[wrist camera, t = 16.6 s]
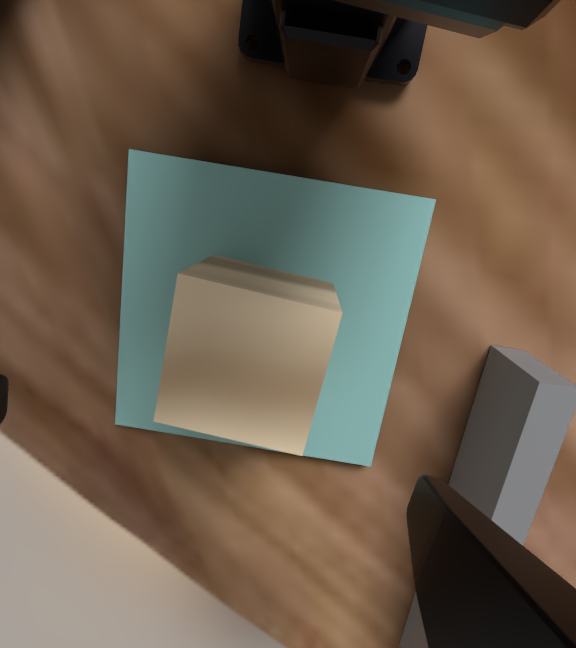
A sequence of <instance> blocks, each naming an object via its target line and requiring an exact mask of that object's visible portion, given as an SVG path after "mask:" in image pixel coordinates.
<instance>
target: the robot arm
mask: <svg viewBox="0 0 576 648" xmlns="http://www.w3.org/2000/svg"><path fill="white" fill-rule="evenodd" d="M559 1H560V0H243V3H242V12H241V21H240V31H239V47H240V50H241V52H242V54H243V56H244V57H245V58H246V59H247V60H250V61H253V62H259V63H265V64H271V65H277V66H283V67H285V68H286V71H287V72H288V74H289V75H290V77H291V78H296V79H302V80H308V81H314V82H321V83H327V84H333V85H339V86H345V87H351V88H357V87H358V86H359V85H361V84H362V83H363V82H364V80H368V81H374V82H381V83H387V84H393V85H405V84H407V83H409V82H410V81H411V80H412V79H413V77H414V76H415V75H416V72H417V70H418V66H419V61H420V57H421V52H422V47H423V43H424V38H425V33H426V29H427V25H430V26H434V27H438V28H442V29H446V30H449V31H453V32H457V33H461V34H465V35H469V36H473V37H477V38H481V37H484V36H486V35H488V34H491V33H493V32H496V31H498V30H499V29H500V28H501V27H502V26H503V25H504V26H508V27H512V28H516V29H520V30H523V29H525V28H527V27H529V26H530V25H532V24H533V23H535V22H536V21H538V20H539V19H541V18H543V17H544V16H545V15H546V14H547V13H548V12H549V11H550V10H551V9H552V8H553V7H554V6H555V5H556V4H557V3H558V2H559ZM252 38H255V39H257V40H258V41H259V46H258V48H256V49H255V50H250V49H248V48H247V43H248V41H249V40H250V39H252ZM399 63H405V64H407V66H408V67H409V72H408V73H407V74H406V75H401V74H399V73H398V71H397V65H398V64H399ZM8 386H9V382H8V378H7V377H6V376H5V375H2V374H0V424H1V423H2V421H3V420H4V418H5V416H6V412H7V402H8ZM407 525H408V534H409V543H410V551H411V560H412V569H413V577H414V584H415V590H416V595H417V600H418V604H419V609H420V613H421V618H422V622H423V627H424V631H425V636H426V640H427V645H428V648H576V589H575V588H574V587H573V586H572V585H570V584H569V583H568V582H567V581H566V580H564V579H563V578H562V577H561V576H559V575H558V574H557V573H556V572H555V571H553V570H552V569H551V568H550V567H548V566H547V565H546V564H545V563H543V562H542V561H541V560H540V559H539V558H537V557H536V556H535V555H534V554H532V553H531V552H530V551H529V550H528V549H526V548H525V547H524V546H523V545H521V544H520V543H519V542H518V541H516V540H515V539H514V538H513V537H512V536H510V535H509V534H508V533H507V532H505V531H504V530H503V529H502V528H500V527H499V526H498V525H497V524H496V523H494V522H493V521H492V520H491V519H489V518H488V517H487V516H486V515H485V514H483V513H482V512H481V511H480V510H478V509H477V508H476V507H475V506H473V505H472V504H471V503H470V502H469V501H467V500H466V499H465V498H464V497H462V496H461V495H460V494H459V493H458V492H456V491H455V490H454V489H453V488H451V487H450V486H449V485H448V484H446V483H445V482H444V481H443V480H441V479H440V478H436V477H432V476H428V475H421V476H420V477H419V478H418V480H417V483H416V485H415V488H414V491H413V493H412V496H411V499H410V501H409V504H408V507H407Z"/></svg>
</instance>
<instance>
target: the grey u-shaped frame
mask: <svg viewBox="0 0 576 648" xmlns="http://www.w3.org/2000/svg"><path fill="white" fill-rule="evenodd" d="M575 409H576V384H574V383H573V382H571V381H570V380H568V379H567V378H565V377H564V376H562V375H561V374H559V373H558V372H556V371H555V370H553V369H552V368H550V367H549V366H547V365H546V364H544V363H543V362H541V361H540V360H538V359H537V358H535V357H534V356H532V355H531V354H529V353H528V352H526V351H524V350H518V349H511V348H505V347H499V346H493V345H491V347H490V350H489V354H488V357H487V360H486V363H485V367H484V370H483V373H482V376H481V380H480V383H479V386H478V389H477V393H476V396H475V399H474V402H473V406H472V409H471V412H470V415H469V419H468V422H467V425H466V428H465V432H464V435H463V438H462V441H461V445H460V448H459V451H458V454H457V458H456V461H455V464H454V467H453V471H452V474H451V477H450V480H449V484H448V485H449V486H450V487H451V488H453V489H454V490H455V491H456V492H458V493H459V494H460V495H461V496H462V497H464V498H465V499H466V500H467V501H469V502H470V503H471V504H472V505H473V506H475V507H476V508H477V509H478V510H480V511H481V512H482V513H483V514H485V515H486V516H487V517H488V518H489V519H491V520H492V521H493V522H494V523H496V524H497V525H498V526H499V527H500V528H502V529H503V530H504V531H505V532H507V533H508V534H509V535H510V536H512V537H513V538H514V539H515V540H516V541H518V542H519V543H520V544H521V545H523V544H524V542H525V539H526V537H527V534H528V531H529V529H530V526H531V524H532V521H533V518H534V516H535V513H536V510H537V508H538V505H539V503H540V500H541V497H542V495H543V492H544V490H545V487H546V484H547V482H548V479H549V476H550V474H551V471H552V469H553V466H554V463H555V461H556V458H557V456H558V453H559V450H560V448H561V445H562V443H563V440H564V437H565V435H566V432H567V429H568V427H569V424H570V422H571V419H572V416H573V414H574V411H575ZM399 646H400V648H428V645H427V640H426V636H425V631H424V627H423V622H422V618H421V613H420V609H419V604H418V600H417V595H416V591H415V594H414V598H413V601H412V604H411V607H410V611H409V614H408V617H407V620H406V624H405V627H404V630H403V633H402V637H401V640H400V643H399Z"/></svg>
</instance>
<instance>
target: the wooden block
mask: <svg viewBox="0 0 576 648" xmlns="http://www.w3.org/2000/svg"><path fill="white" fill-rule="evenodd" d="M342 314H343V313H342V309H341V306H340V303H339V300H338V297H337V294H336V291H335V288H334V285H333V283H330V282H326V281H322V280H318V279H314V278H310V277H306V276H301V275H297V274H293V273H289V272H285V271H281V270H277V269H273V268H268V267H264V266H260V265H256V264H252V263H248V262H244V261H240V260H236V259H231V258H227V257H223V256H219V255H215V254H214V255H212V256H210V257H208V258H206V259H204V260H202V261H200V262H198V263H196V264H194V265H193V266H191V267H189V268H187V269H185V270H183V271H181V272H179V273H178V275H177V281H176V287H175V293H174V299H173V305H172V311H171V317H170V323H169V329H168V336H167V342H166V348H165V354H164V360H163V366H162V372H161V378H160V384H159V390H158V397H157V403H156V409H155V415H154V422H158V423H163V424H167V425H171V426H175V427H180V428H184V429H188V430H192V431H197V432H201V433H205V434H209V435H214V436H218V437H222V438H227V439H231V440H235V441H239V442H244V443H248V444H252V445H256V446H261V447H265V448H269V449H274V450H278V451H282V452H286V453H291V454H295V455H299V456H303V452H304V448H305V445H306V441H307V438H308V434H309V431H310V427H311V424H312V420H313V416H314V413H315V409H316V406H317V402H318V399H319V395H320V392H321V388H322V385H323V381H324V377H325V374H326V370H327V367H328V363H329V360H330V356H331V353H332V349H333V345H334V342H335V338H336V335H337V331H338V328H339V324H340V321H341V317H342Z"/></svg>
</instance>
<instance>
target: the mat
mask: <svg viewBox="0 0 576 648" xmlns="http://www.w3.org/2000/svg"><path fill="white" fill-rule="evenodd" d="M435 202H436V199H430V198H424V197H418V196H412V195H405V194H399V193H393V192H387V191H381V190H375V189H369V188H363V187H357V186H351V185H345V184H339V183H333V182H326V181H320V180H314V179H308V178H302V177H296V176H290V175H284V174H278V173H272V172H266V171H260V170H253V169H247V168H241V167H235V166H229V165H223V164H217V163H211V162H205V161H199V160H193V159H187V158H181V157H174V156H168V155H162V154H156V153H150V152H144V151H138V150H132V149H129V155H128V175H127V195H126V215H125V235H124V255H123V275H122V295H121V315H120V335H119V355H118V375H117V395H116V415H115V424H116V425H122V426H129V427H135V428H141V429H147V430H153V431H159V432H165V433H171V434H177V435H183V436H189V437H195V438H201V439H207V440H213V441H219V442H225V443H231V444H237V445H243V446H249V447H255V448H261V449H268V450H274V449H269V448H265V447H261V446H256V445H252V444H248V443H244V442H239V441H235V440H231V439H227V438H222V437H218V436H214V435H209V434H205V433H201V432H197V431H192V430H188V429H184V428H180V427H175V426H171V425H167V424H163V423H158V422H154V415H155V409H156V403H157V397H158V390H159V384H160V378H161V372H162V366H163V360H164V354H165V348H166V342H167V336H168V329H169V323H170V317H171V311H172V305H173V299H174V293H175V287H176V281H177V275H178V273H179V272H181V271H183V270H185V269H187V268H189V267H191V266H193V265H194V264H196V263H198V262H200V261H202V260H204V259H206V258H208V257H210V256H212V255H214V254H215V255H219V256H223V257H227V258H231V259H236V260H240V261H244V262H248V263H252V264H256V265H260V266H264V267H268V268H273V269H277V270H281V271H285V272H289V273H293V274H297V275H301V276H306V277H310V278H314V279H318V280H322V281H326V282H330V283H333V285H334V288H335V291H336V294H337V297H338V300H339V303H340V306H341V309H342V313H343V314H342V317H341V321H340V324H339V328H338V331H337V335H336V338H335V342H334V345H333V349H332V353H331V356H330V360H329V363H328V367H327V370H326V374H325V377H324V381H323V385H322V388H321V392H320V395H319V399H318V402H317V406H316V409H315V413H314V416H313V420H312V424H311V427H310V431H309V434H308V438H307V441H306V445H305V448H304V452H303V455H304V456H310V457H316V458H322V459H328V460H334V461H340V462H346V463H352V464H358V465H364V466H370V467H371V464H372V459H373V455H374V451H375V447H376V443H377V439H378V435H379V431H380V427H381V423H382V419H383V415H384V410H385V406H386V402H387V398H388V394H389V390H390V386H391V382H392V378H393V374H394V370H395V366H396V361H397V357H398V353H399V349H400V345H401V341H402V337H403V333H404V329H405V325H406V321H407V317H408V312H409V308H410V304H411V300H412V296H413V292H414V288H415V284H416V280H417V276H418V272H419V267H420V263H421V259H422V255H423V251H424V247H425V243H426V239H427V235H428V231H429V227H430V223H431V218H432V214H433V210H434V206H435ZM274 451H278V450H274ZM280 452H282V451H280Z"/></svg>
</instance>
